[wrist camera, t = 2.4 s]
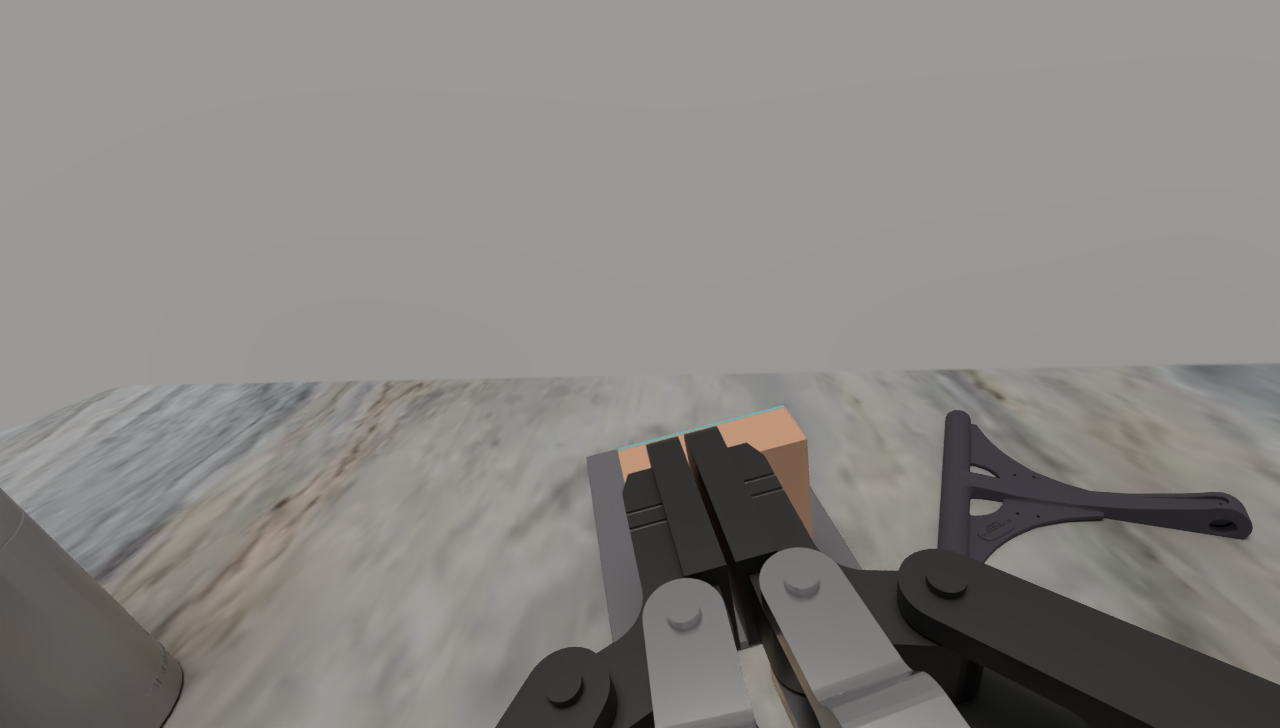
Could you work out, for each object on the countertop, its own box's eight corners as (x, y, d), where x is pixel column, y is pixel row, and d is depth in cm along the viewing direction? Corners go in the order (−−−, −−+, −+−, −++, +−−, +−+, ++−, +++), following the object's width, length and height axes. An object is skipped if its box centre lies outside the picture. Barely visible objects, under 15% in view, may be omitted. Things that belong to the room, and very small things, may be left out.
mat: (620, 683, 32) (617, 677, 32) (588, 462, 48) (586, 457, 48) (882, 609, 33) (882, 602, 32) (763, 416, 49) (762, 410, 49)
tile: (664, 628, 33) (625, 487, 28) (654, 585, 36) (617, 448, 30) (815, 586, 34) (807, 439, 28) (794, 547, 36) (783, 404, 31)
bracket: (1290, 656, 27) (1313, 619, 26) (935, 579, 34) (938, 546, 33) (1202, 456, 38) (1215, 422, 37) (944, 427, 45) (947, 397, 43)
